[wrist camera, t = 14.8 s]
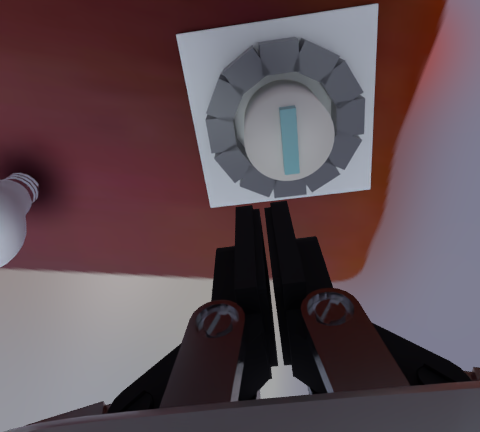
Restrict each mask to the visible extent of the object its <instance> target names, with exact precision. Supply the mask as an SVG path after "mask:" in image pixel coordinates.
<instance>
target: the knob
mask: <svg viewBox="0 0 480 432" xmlns="http://www.w3.org/2000/svg"><path fill="white" fill-rule="evenodd" d="M334 137H335V132H334V125H333V121H332V119H331V116H330V114H329V113H328V111H327V110H326V108H325V107H324V106H323V105H322V103H321V102H320V101H319V100H318V98H317V97H316V96H315V94H314V93H313V92H312V91H311V90H310V89H309V88H308V87H307V86H305V85H304V84H302V83H300V82H297V81H294V80H287V79H282V80H276V81H272V82H269V83H267V84H265V85H264V86H262V87H261V88H259V89H258V90H257V91H256V92H255V93H254V94H253V96H252V97H251V99H250V100H249V102H248V104H247V107H246V110H245V116H244V146H245V151H246V154H247V156H248V158H249V160H250V162H251V163H252V165H253V166H254V167H255V168H256V169H257V170H258V171H259V172H260V173H262V174H263V175H265V176H267V177H269V178H272V179H275V180H280V181H293V180H298V179H302V178H304V177H307V176H309V175H310V174H312V173H314V172H315V171H316V170H318V169H319V168H320V167H321V166H322V165H323V164H324V163H325V161H326V160H327V158H328V157H329V155H330V153H331V151H332V148H333V144H334Z"/></svg>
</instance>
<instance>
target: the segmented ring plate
mask: <svg viewBox="0 0 480 432" xmlns="http://www.w3.org/2000/svg"><path fill="white" fill-rule="evenodd" d="M377 24H378V4H369V5H362V6H356V7H349V8H343V9H336V10H330V11H323V12H317V13H310V14H304V15H297V16H291V17H284V18H278V19H271V20H265V21H258V22H252V23H245V24H239V25H232V26H226V27H219V28H213V29H206V30H200V31H193V32H187V33H180V34H176V38H177V43H178V48H179V53H180V58H181V63H182V68H183V73H184V77H185V82H186V87H187V92H188V97H189V102H190V107H191V112H192V117H193V122H194V127H195V132H196V137H197V142H198V147H199V152H200V157H201V162H202V167H203V172H204V177H205V182H206V187H207V192H208V197H209V202H210V207H211V208H213V207H222V206H230V205H239V204H248V203H256V202H265V201H274V200H283V199H291V198H300V197H309V196H317V195H326V194H335V193H343V192H352V191H361V190H370V185H371V162H372V139H373V116H374V93H375V70H376V47H377ZM282 79H287V80H294V81H297V82H300V83H302V84H304V85H305V86H307V87H308V88H309V89H310V90H311V91H312V92H313V93H314V94H315V96H316V97H317V98H318V100H319V101H320V102H321V103H322V105H323V106H324V107H325V108H326V110H327V111H328V113H329V114H330V116H331V119H332V121H333V125H334V132H335V137H334V144H333V148H332V151H331V153H330V155H329V157H328V158H327V160H326V161H325V163H324V164H323V165H322V166H321V167H320V168H319V169H318V170H316V171H315V172H314V173H312V174H310V175H309V176H307V177H304V178H302V179H298V180H293V181H280V180H275V179H272V178H269V177H267V176H265V175H263V174H262V173H260V172H259V171H258V170H257V169H256V168H255V167H254V166H253V165H252V163H251V162H250V160H249V158H248V156H247V154H246V151H245V146H244V116H245V110H246V107H247V104H248V102H249V100H250V99H251V97H252V96H253V94H254V93H255V92H256V91H257V90H258V89H259V88H261V87H262V86H264V85H265V84H267V83H269V82H272V81H276V80H282Z"/></svg>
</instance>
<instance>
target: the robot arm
mask: <svg viewBox="0 0 480 432" xmlns="http://www.w3.org/2000/svg"><path fill="white" fill-rule="evenodd" d="M270 205H271V207H268V208H264V209H265V218H266V226H267V235H268V243H269V252H270V260H271V269H272V277H273V285H274V293H275V301H276V308H277V316H278V323H279V331H280V337H281V346H282V353H283V360H284V365H292V371H293V377H296V378H297V379H299V380H300V381H302V382H303V383H304V384H306V385H307V386H308V391H309V395H301V396H289V397H280V398H267V399H260V388H261V387H262V386H263V385H264V384H265V383H266V382H267V381H268V380H269V379H272V376H271V375H272V374H271V367H272V366H278V361H277V351H276V341H275V332H274V323H273V312H272V303H271V294H270V284H269V275H268V268H267V261H266V254H265V246H264V239H263V232H262V225H261V218H260V211H259V209H253V207H252V205H250V206H242V207H236V223H235V246H232V247H224V248H217V250H216V258H215V268H214V279H213V290H212V300H211V302H208V303H206V304H204V305H202V306H201V307H199V308H198V309H197V310H196V311H195V312H194V313H193V315H192V316H191V318H190V320H189V323H188V326H187V329H186V332H185V335H184V338H183V340H182V343H181V344H180V345H179V346H178V347H176V348H175V349H174V350H173V351H171V352H170V353H169V354H168V355H167V356H165V357H164V358H163V359H162V360H160V361H159V362H158V363H157V364H155V365H154V366H153V367H152V368H151V369H149V370H148V371H147V372H146V373H145V374H143V375H142V376H141V377H140V378H138V379H137V380H136V381H135V382H133V383H132V384H131V385H130V386H129V387H127V388H126V389H125V390H124V391H122V392H121V393H120V394H119V395H118V396H117V397H116V398H115V399H114V401H113V403H112V404H109V405H105V403H104V402H99V403H96V404H93V405H89V406H86V407H83V408H80V409H77V410H73V411H70V412H67V413H64V414H60V415H57V416H54V417H51V418H48V419H44V420H41V421H38V422H35V423H32V424H28V425H26V426H23V427H19V428H15V429H11V430H8V431H5V432H480V368H479V367H473V370H472V372H469V371H463V370H462V369H461V368H460V367H458V366H456V365H455V364H453V363H452V362H450V361H448V360H446V359H444V358H442V357H440V356H438V355H436V354H434V353H432V352H430V351H428V350H426V349H424V348H422V347H420V346H418V345H416V344H414V343H412V342H410V341H408V340H406V339H403V338H402V337H400V336H398V335H396V334H394V333H392V332H390V331H388V330H386V329H384V328H381V327H380V326H377V325H376V324H373V323H372V322H371V321H370V320H369V318H368V316H367V315H366V313H365V312H364V310H363V308H362V307H361V305H360V303H359V302H358V301H357V299H356V298H355V297H354V296H353V295H351V294H349V293H348V292H346V291H343V290H340V289H336V288H333V286H332V283H331V280H330V277H329V274H328V271H327V268H326V264H325V261H324V258H323V255H322V252H321V249H320V246H319V243H318V240H317V237H316V236H314V237H306V238H298V239H296V238H295V234H294V230H293V225H292V221H291V217H290V213H289V208H288V204H287V201H281V202H273V203H270Z"/></svg>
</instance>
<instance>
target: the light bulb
mask: <svg viewBox="0 0 480 432" xmlns="http://www.w3.org/2000/svg"><path fill="white" fill-rule="evenodd" d="M39 193H40V187H39V183H38V182H37V181H36V180H35V179H34V178H33V177H31V176H30V175H28V174H25V173H22V172H17V173H12V174H10V175H8V176H7V177H5V179H3V180H0V267H2V266H4V265H5V264H7V263H8V262H9V261H10V260H11V259H13V258H14V257H15V256H16V255H17V253H18V252H19V250H20V249H21V247H22V245H23V243H24V240H25V236H26V214H27V213H28V211H29V210H30V208H31V205H32V204H33V203H34V202H35V201H36V200H37V199H38V196H39Z"/></svg>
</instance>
